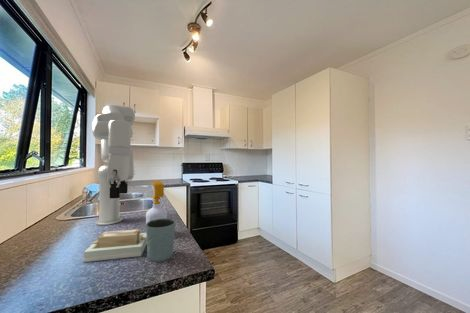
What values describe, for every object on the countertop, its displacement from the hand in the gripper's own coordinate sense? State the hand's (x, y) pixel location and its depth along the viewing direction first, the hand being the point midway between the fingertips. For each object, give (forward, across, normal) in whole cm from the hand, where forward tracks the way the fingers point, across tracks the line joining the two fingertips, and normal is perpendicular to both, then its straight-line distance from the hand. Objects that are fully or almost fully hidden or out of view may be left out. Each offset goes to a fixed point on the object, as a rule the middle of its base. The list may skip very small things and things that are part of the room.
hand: (119, 195), depth 77 cm
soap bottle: (+21, -11, +12) cm, 27 cm away
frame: (+19, +2, +1) cm, 19 cm away
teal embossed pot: (+20, +11, +17) cm, 29 cm away
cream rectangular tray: (+20, +2, +1) cm, 21 cm away
